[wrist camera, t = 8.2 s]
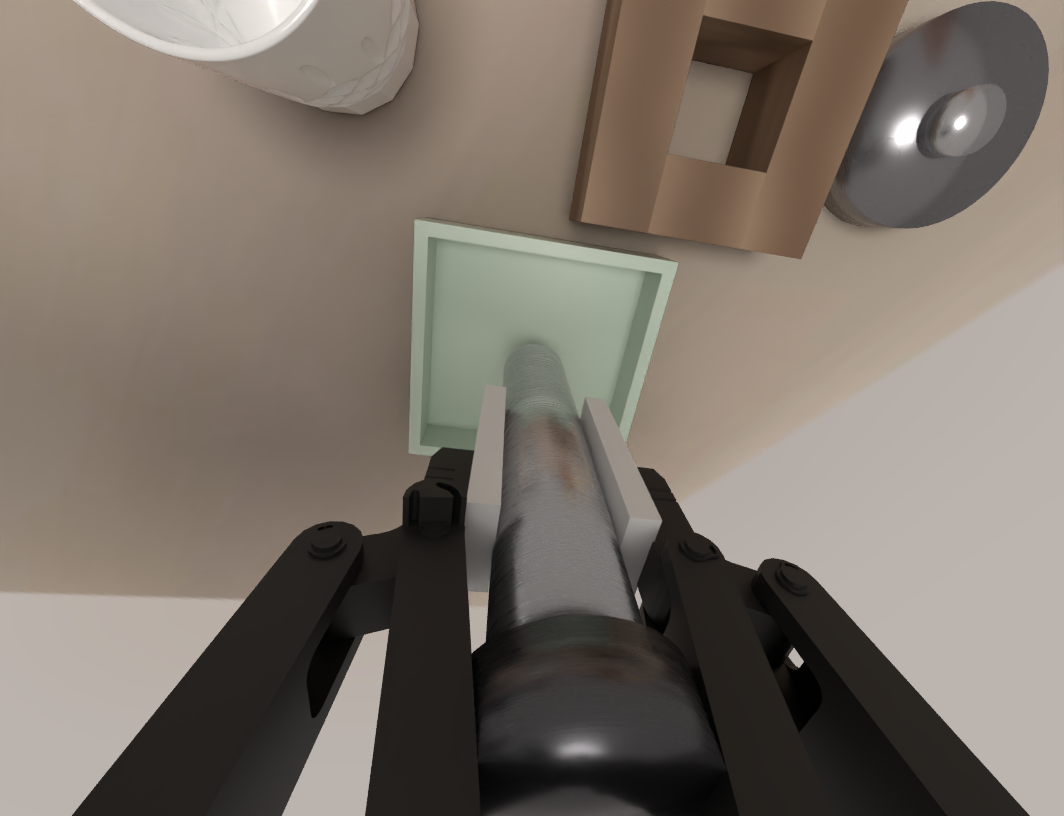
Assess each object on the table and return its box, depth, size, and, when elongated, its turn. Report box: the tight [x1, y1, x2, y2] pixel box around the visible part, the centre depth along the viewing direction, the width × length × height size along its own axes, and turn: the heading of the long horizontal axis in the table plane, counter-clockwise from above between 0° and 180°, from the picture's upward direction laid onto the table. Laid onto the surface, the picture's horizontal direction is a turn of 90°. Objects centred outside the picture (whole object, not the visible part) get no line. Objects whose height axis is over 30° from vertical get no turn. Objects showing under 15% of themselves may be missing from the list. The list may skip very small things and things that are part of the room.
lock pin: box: [471, 344, 727, 816], centre depth 13 cm, size 4×4×16 cm
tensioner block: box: [569, 0, 909, 259], centre depth 17 cm, size 10×10×4 cm
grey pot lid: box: [824, 1, 1049, 228], centre depth 18 cm, size 8×8×4 cm
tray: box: [409, 218, 679, 456], centre depth 22 cm, size 12×12×3 cm
